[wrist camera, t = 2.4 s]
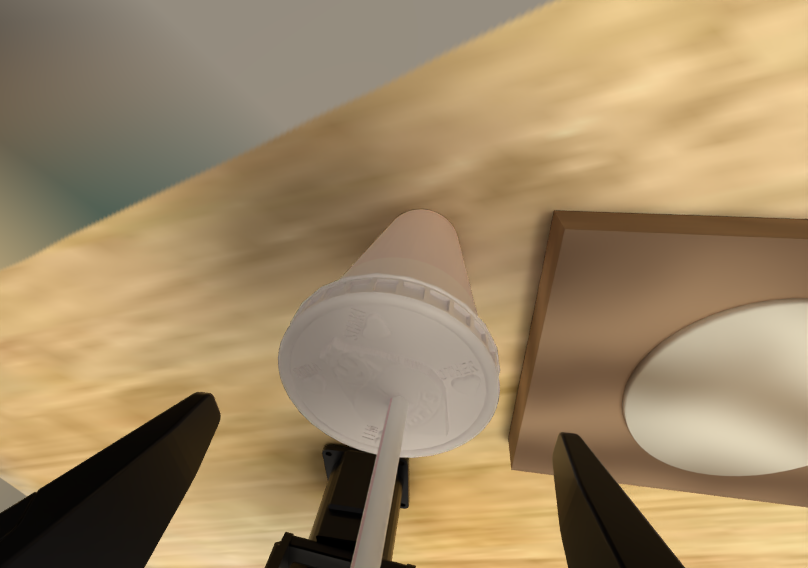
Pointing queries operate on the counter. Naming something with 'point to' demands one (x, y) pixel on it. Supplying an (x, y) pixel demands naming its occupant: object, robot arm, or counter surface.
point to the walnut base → (672, 353)
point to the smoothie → (394, 359)
